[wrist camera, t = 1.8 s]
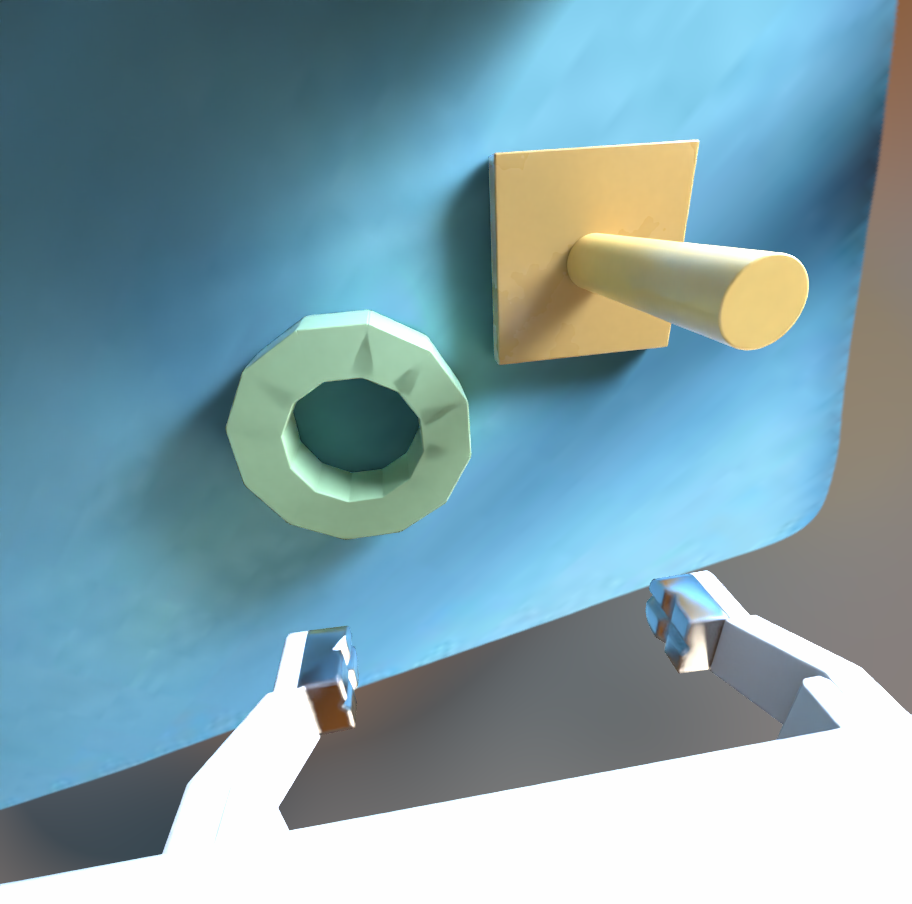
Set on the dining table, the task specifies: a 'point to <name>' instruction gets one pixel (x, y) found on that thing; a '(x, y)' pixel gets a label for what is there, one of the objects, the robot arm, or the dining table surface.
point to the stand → (620, 258)
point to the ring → (329, 488)
